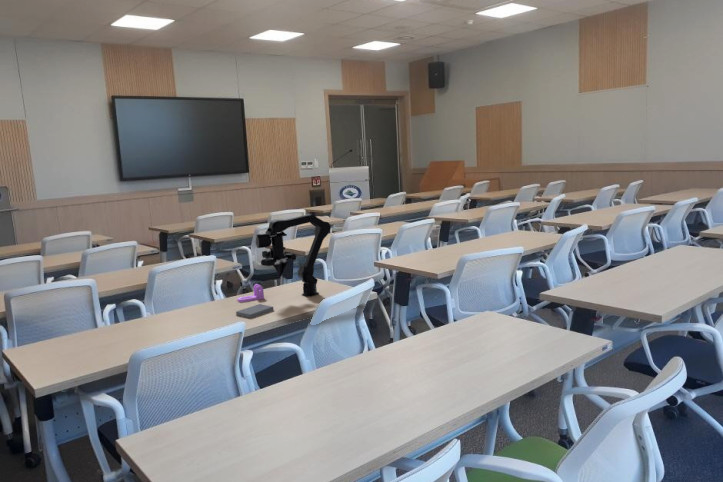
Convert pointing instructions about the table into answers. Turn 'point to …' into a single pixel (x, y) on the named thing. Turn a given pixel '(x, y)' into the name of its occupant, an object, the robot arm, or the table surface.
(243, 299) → the bracket
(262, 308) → the tile
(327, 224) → the robot arm
